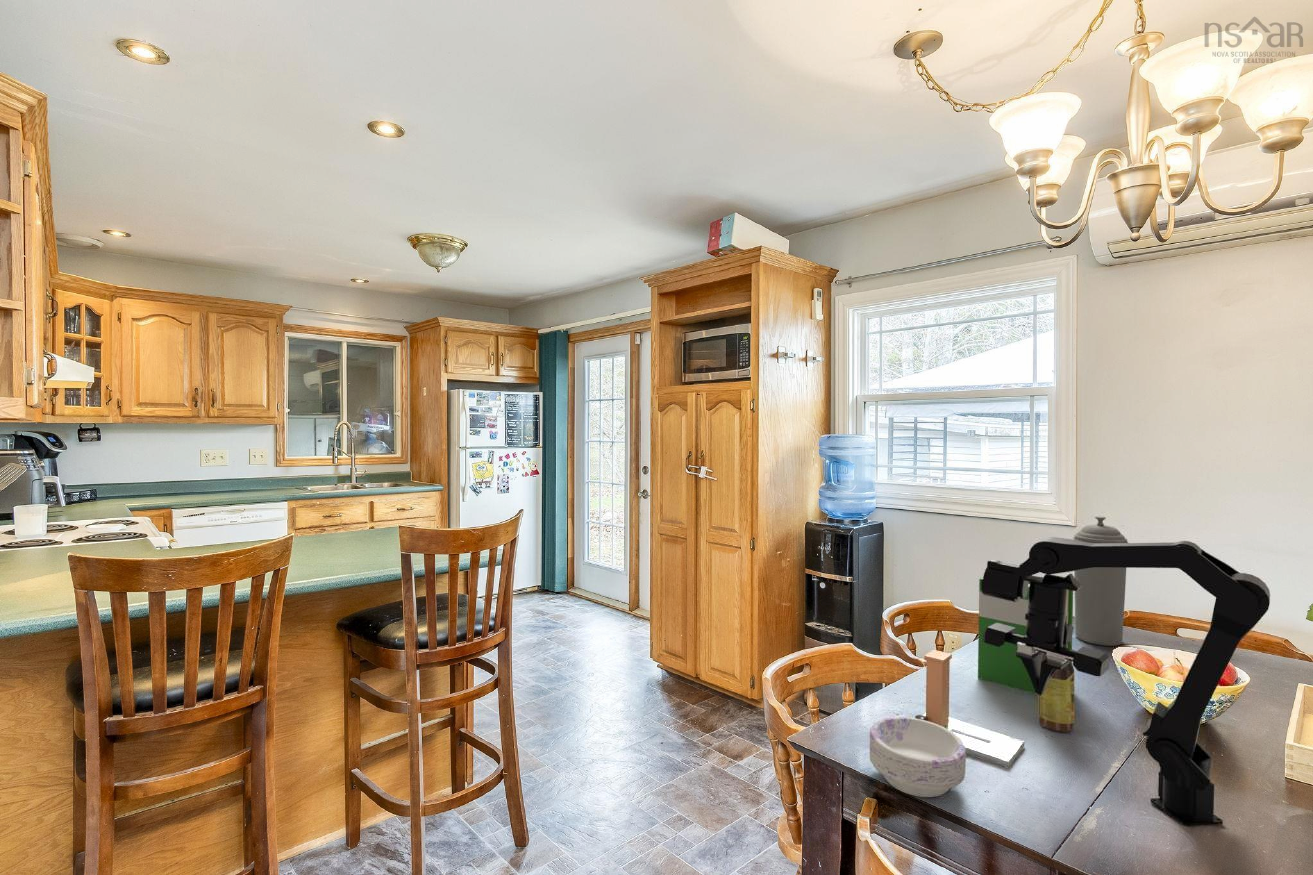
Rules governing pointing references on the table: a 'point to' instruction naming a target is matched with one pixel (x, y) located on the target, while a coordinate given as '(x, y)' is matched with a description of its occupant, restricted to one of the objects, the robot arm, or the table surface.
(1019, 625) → the hardback book
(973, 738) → the fader console
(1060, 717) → the sauce bottle
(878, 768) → the paper bowls
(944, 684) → the fader tab
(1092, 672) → the robot arm
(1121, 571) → the canister
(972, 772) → the table surface
